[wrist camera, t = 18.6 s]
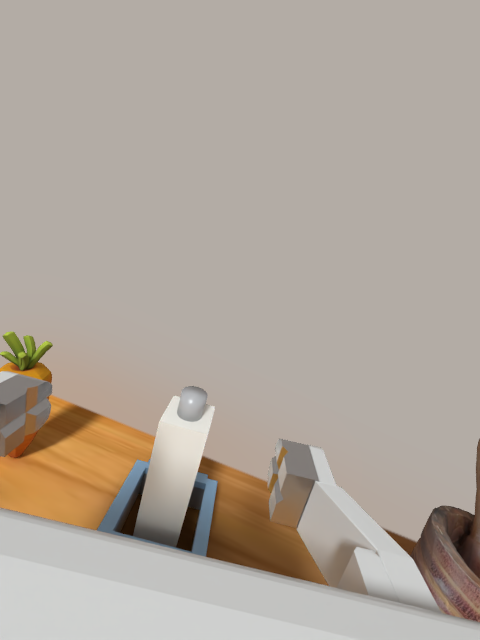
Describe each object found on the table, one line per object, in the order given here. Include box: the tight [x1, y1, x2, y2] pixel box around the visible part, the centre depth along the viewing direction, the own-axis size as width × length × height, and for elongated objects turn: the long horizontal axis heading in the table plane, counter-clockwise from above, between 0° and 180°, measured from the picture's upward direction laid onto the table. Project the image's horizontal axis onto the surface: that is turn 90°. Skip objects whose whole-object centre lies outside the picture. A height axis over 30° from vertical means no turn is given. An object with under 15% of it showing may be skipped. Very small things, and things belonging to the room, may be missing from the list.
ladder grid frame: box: [97, 459, 218, 557], centre depth 18 cm, size 9×25×4 cm, turn 177°
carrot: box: [0, 332, 53, 458], centre depth 28 cm, size 5×5×15 cm
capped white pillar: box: [133, 386, 215, 548], centre depth 24 cm, size 4×4×16 cm
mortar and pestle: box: [410, 439, 480, 622], centre depth 20 cm, size 12×9×20 cm
